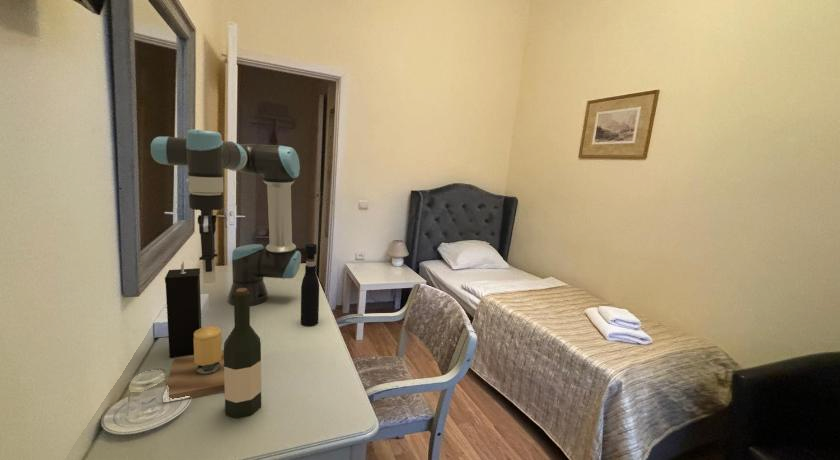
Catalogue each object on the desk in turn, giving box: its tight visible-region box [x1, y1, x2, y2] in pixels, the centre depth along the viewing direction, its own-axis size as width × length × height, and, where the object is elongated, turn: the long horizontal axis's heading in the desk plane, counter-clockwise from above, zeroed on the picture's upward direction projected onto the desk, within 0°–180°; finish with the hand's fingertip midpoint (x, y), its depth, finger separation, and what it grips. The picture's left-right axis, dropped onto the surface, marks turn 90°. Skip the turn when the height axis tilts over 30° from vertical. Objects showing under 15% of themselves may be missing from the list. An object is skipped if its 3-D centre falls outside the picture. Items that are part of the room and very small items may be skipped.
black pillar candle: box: [164, 260, 203, 359], centre depth 107 cm, size 8×8×28 cm
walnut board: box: [166, 350, 225, 399], centre depth 98 cm, size 18×18×2 cm
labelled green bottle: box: [223, 288, 262, 420], centre depth 84 cm, size 8×8×30 cm
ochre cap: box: [193, 325, 223, 366], centre depth 96 cm, size 6×6×8 cm
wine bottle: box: [300, 243, 320, 327], centre depth 131 cm, size 6×6×30 cm
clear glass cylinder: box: [197, 362, 221, 375], centre depth 97 cm, size 6×6×10 cm
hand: (209, 282), depth 94 cm, fingers closed
